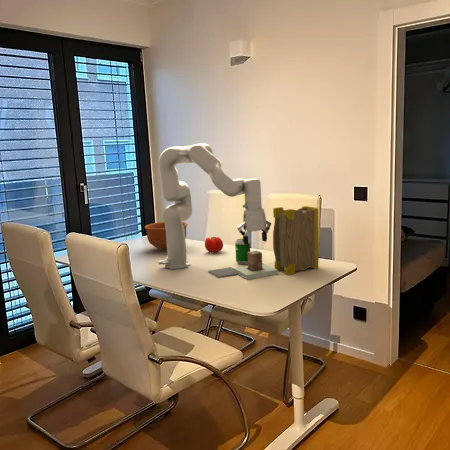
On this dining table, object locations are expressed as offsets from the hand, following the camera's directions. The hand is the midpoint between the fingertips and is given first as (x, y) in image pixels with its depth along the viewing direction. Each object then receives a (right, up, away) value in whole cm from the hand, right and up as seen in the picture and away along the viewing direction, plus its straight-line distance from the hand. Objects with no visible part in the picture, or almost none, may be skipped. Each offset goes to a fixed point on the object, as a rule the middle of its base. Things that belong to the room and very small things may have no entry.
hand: (255, 242), depth 219 cm
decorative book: (+20, -13, +5) cm, 25 cm away
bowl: (-48, -7, +60) cm, 77 cm away
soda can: (-5, -11, +22) cm, 26 cm away
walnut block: (0, -14, +3) cm, 15 cm away
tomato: (-20, -8, +48) cm, 53 cm away
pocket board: (0, -14, +3) cm, 15 cm away
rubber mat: (-14, -15, +5) cm, 21 cm away
